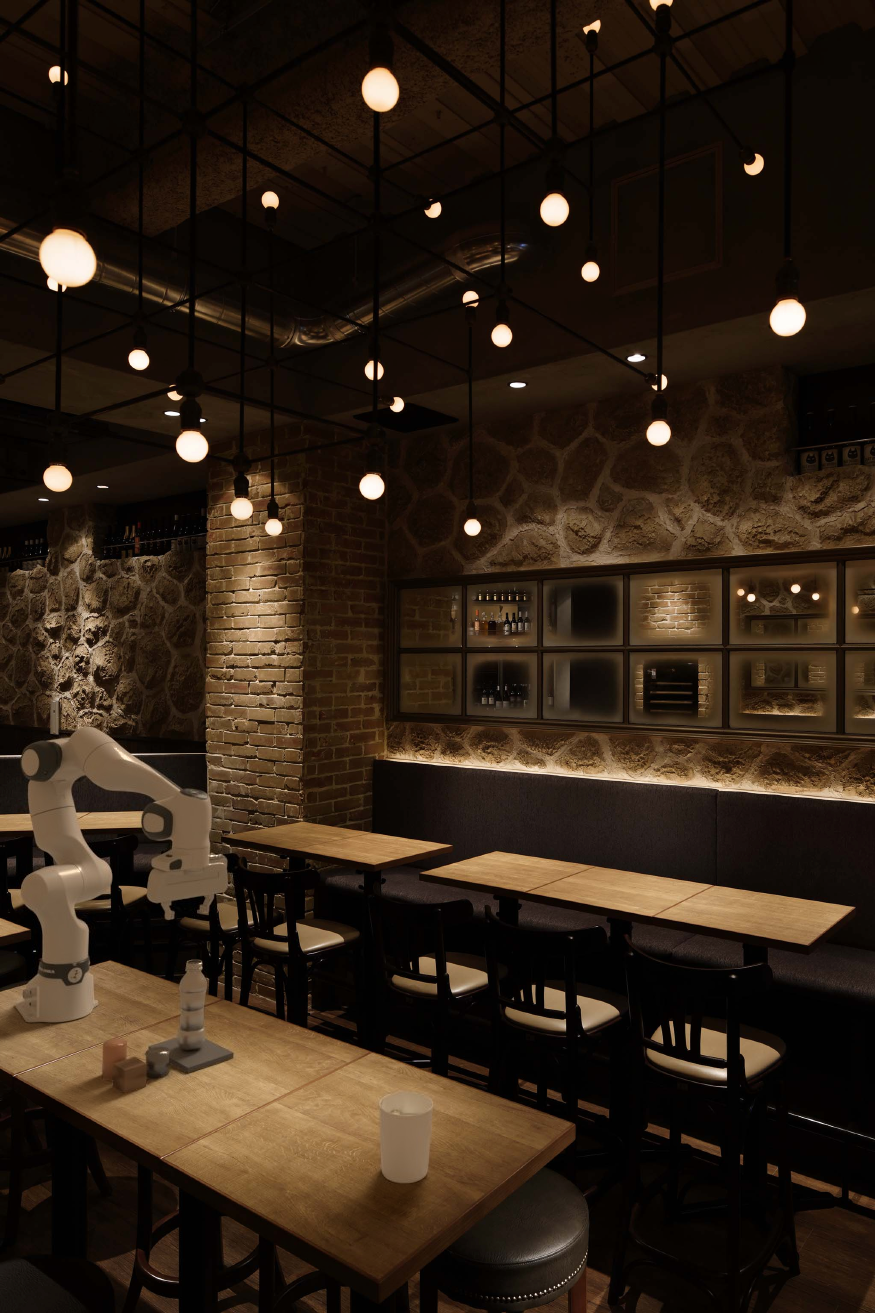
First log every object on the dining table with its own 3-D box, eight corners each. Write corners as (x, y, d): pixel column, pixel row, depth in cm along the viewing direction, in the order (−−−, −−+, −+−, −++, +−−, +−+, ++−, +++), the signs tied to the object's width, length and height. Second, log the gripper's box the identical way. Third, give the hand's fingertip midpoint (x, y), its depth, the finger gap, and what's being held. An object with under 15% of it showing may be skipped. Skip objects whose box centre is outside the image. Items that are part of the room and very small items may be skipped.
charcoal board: (148, 1051, 209) (148, 1046, 209) (192, 1037, 218) (193, 1032, 218) (188, 1073, 198) (188, 1068, 198) (233, 1057, 206) (233, 1052, 207)
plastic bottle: (209, 1043, 212) (212, 958, 212) (199, 1055, 205) (202, 967, 206) (182, 1042, 212) (186, 957, 213) (172, 1053, 205) (175, 965, 206)
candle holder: (376, 1157, 164) (378, 1091, 164) (429, 1156, 165) (431, 1090, 165) (377, 1187, 154) (379, 1116, 155) (433, 1186, 155) (435, 1115, 155)
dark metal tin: (141, 1073, 197) (142, 1050, 197) (163, 1067, 200) (164, 1045, 201) (150, 1081, 193) (151, 1058, 194) (172, 1075, 197) (173, 1052, 197)
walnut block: (112, 1087, 190) (113, 1063, 190) (133, 1080, 194) (134, 1056, 194) (124, 1094, 187) (125, 1070, 187) (145, 1087, 191) (146, 1063, 191)
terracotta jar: (98, 1075, 196) (99, 1043, 196) (119, 1068, 199) (120, 1037, 200) (108, 1082, 192) (109, 1049, 192) (130, 1075, 196) (131, 1043, 196)
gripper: (220, 851, 223) (216, 906, 223) (145, 860, 208) (141, 919, 208) (234, 855, 219) (231, 911, 218) (159, 865, 204) (155, 925, 203)
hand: (187, 915), depth 213 cm, fingers open, 8 cm apart
